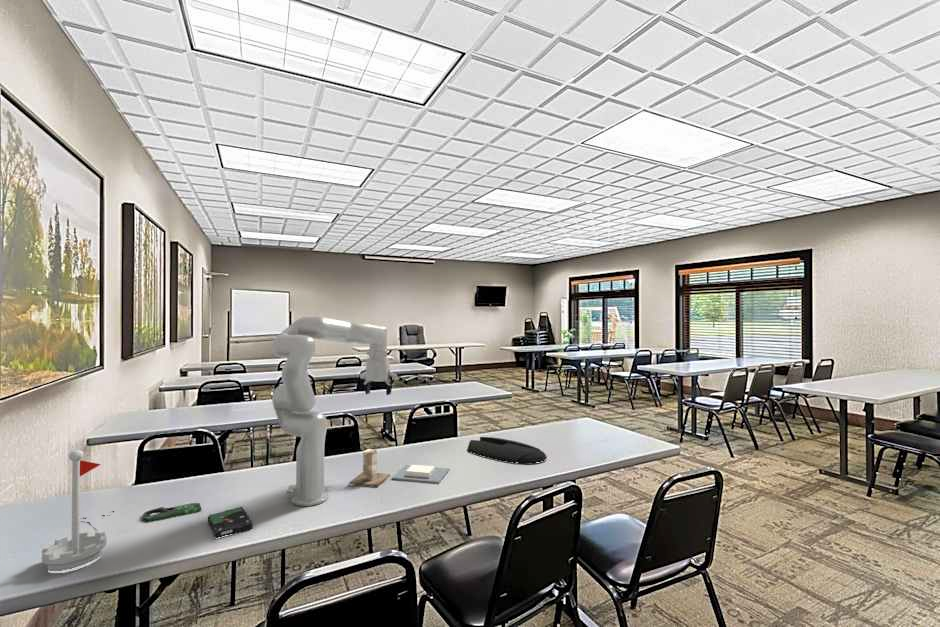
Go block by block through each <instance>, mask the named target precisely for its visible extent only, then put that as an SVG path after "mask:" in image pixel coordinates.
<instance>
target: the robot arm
mask: <svg viewBox="0 0 940 627" xmlns="http://www.w3.org/2000/svg"><path fill="white" fill-rule="evenodd" d="M315 340H321V341H328V342H337V343H345V344H346V343H348V344H349V343H350V344H351V343H357V344H360V345H369V346H368V347H369V351H367V352H366V355H367V356H368V357H367V358H366V363H365V371H363V372H361V373H359V378H360V380H361V382H362V383H363V385H364V392H365V395H368V394H371V382H385V383H386V387H385V388H386V389H385V390H386V392H385V393H386V394H385V395H386V396H389V395H391V393H392V385H393V384H394V383H395V382H396V380H397V377H398V375H397V374H396V373H394V372H392V371H391V366H390V364H391V363H390V361H389V359H390V358H389V357H388V328H387V327H386V326H380V325H379V326H378V325H374V324H373V325H372V324H366V323H359V322H354V321H348V320H342V319H335V318H330V317H326V316H315V315H314V316H302V317H300V318H298V319H296V320H295V321H293V322H292V323H291V324H290V325H288V326H287V327H286V328H284V330H282V331H281V332H280V333H279V334H278V335H276V336H275V338H274V340H273V341H272V344H271V350H272V352H273V354H274V355H275V356H276V357H278V358H282V359H286V361H284V364H283V367H282V369H281V380H282V383H281V384H280V385H278V386H277V387H276V388H275V389H274V391H273V394H272V397H271V398H272V399H271V400H272V401H271V402H272V406H273V408H274V409H273V410H274V412H275V415H276V418H277V420H278V424H279V426H280V428H281V430H282V431H283V432H284V433H285V434H287V435H289V436H295V437H299V438H300V441H299V443H298V445H297V447H296V453H295V454H296V455H295V457H296V460H295V461H296V462H295V463H296V465H295V466H296V468H295V469H296V470H295V472H296V474H295V476H296V477H295V478H296V480H295V482H296V483H295V485H293V484H289V486H288V488H287V490H286V492H287V493H288V494H293V495H292V497H291V501H290V502H291V504H293V505H295V506H298V507H309V506H316V505H320V504H322V503H324V502H325V501H327V500H328V498H329V492H328V491H326V490H325V442H326V435H327V431H328V430H327V429H328V420H327V417H326V416H325V415H324V414H322V413H321V412H319V411H314V410H312V409H313V408H314V407H315V404H316V396H315V393H314V390H313V387H312V384H311V380H310V376H309V373H308V367H309V363H310V361H311V359H312V358H313V356H314V354H315V351H316V349H317V347H316V341H315ZM391 378H392V379H391Z"/></svg>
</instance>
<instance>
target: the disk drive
mask: <svg viewBox="0 0 940 627" xmlns="http://www.w3.org/2000/svg"><path fill="white" fill-rule="evenodd" d="M207 523H208V525H209V527H211V528H210V530H211V529H212V530H211V532H212V531H213V532H212V534H213V533H214V534H213V536H215V537H216V538H218V537H222V536H225V535H230V534H234V535H236V534H235V533H238V534H240V533H239V532H241V533H245V532H248V531H252V530H254V522H253V520H252V519H251V518H250V516H249V515H248V514H247V512H246V510H245V508H243V506H239V507H235V508H231V509H227V510H224V511H220V512H218V513H213V514H211V513H210V514H209V515H208V516H207ZM251 529H252V530H251ZM244 531H245V532H244ZM230 536H231V535H230ZM215 537H214V538H215ZM216 538H215V539H216Z"/></svg>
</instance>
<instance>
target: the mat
mask: <svg viewBox="0 0 940 627" xmlns="http://www.w3.org/2000/svg"><path fill="white" fill-rule="evenodd" d="M412 465H413V464H405V465H404V466H403V467H402V468H400V469H399V470H398V471H397V472H396V473H395V474H394V475H393V476H392V477H391V480H392V479H396V480H395V481H402V480H407V481H406V482H413V481H416V482H415V483H425V484H426V483H427V484H428V483H429V484H436V483H437V484H436V485H439V484H440V483H441V482H442V481H443V479H444V478H445V477H446V475H448V473H449V472H450V470H451V469H450V468H448V467H437V466H435V472H434V473H433V474H432V475H431V476H430V477H429V478H425V477H413V476H406V470H407V469H408V468H409V467H411V466H412ZM448 471H449V472H448ZM444 476H445V477H444ZM441 480H442V481H441Z"/></svg>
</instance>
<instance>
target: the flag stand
mask: <svg viewBox="0 0 940 627" xmlns="http://www.w3.org/2000/svg"><path fill="white" fill-rule="evenodd" d="M83 457H84V452H83V451H82V450H80V449H75V450H72V451H71V452H70V453H69V455H68V459H69V460H70V461H71V462H72V464H71V466H72V468H71V470H72V473H71V484H72V485H71V538H68V536H66V535H65V536H62V537H60V538H57V539H54V544H53V545H52V544H45V546H43V547H42V549H41V562H42V563H44V564H46V570H47V569H48V570H49V571H62V570H67V569H72V568H75V567H78V566H81V565H84V564H86V563H88V562H91V561H93V560H95V559H97V558H98V557H100V556H101V554H102V553H103V551H102V550H103V549H104V548H105V547H106V546H107V543H108V542H107V541H108V540H107V538H108V537H107V534H106V532H105V531H103V530H100V531H96V532H94V534H90V532H91V531H88V530H86V531H85V530H84V531H80V522H79V520H80V519H79V518H80V497H81V496H80V492H81V491H80V487H81V486H80V482H81V481H80V480H81V477H82V476H83V475H85V474H87V473H88V472H91V471H92V470H94V469H96V468H97V467H99V466H101V463H95V462H91V461H86V460H81V459H83ZM101 557H102V556H101Z"/></svg>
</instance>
